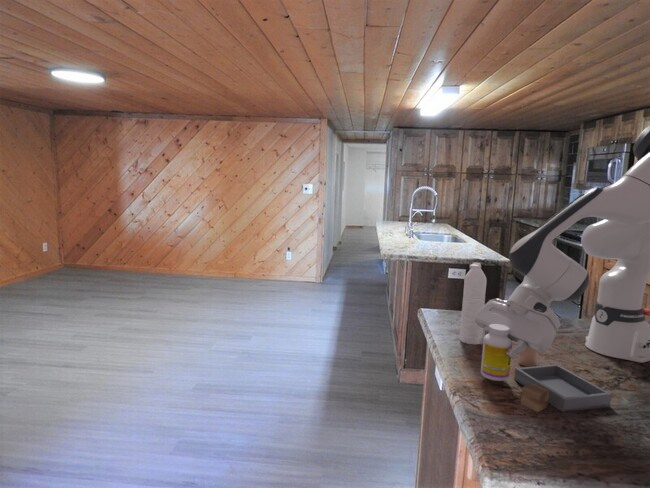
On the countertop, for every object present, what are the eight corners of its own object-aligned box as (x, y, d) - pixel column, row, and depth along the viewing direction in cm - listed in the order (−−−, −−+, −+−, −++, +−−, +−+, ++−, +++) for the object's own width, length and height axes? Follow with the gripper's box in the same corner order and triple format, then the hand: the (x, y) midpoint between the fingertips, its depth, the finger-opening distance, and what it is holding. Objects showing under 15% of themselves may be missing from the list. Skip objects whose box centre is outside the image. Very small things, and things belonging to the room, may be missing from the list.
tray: (555, 375, 113) (557, 364, 112) (609, 406, 98) (611, 393, 97) (514, 379, 110) (515, 368, 109) (563, 412, 94) (564, 399, 94)
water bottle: (461, 336, 140) (467, 260, 136) (483, 340, 137) (489, 262, 133) (456, 344, 132) (462, 264, 128) (478, 349, 129) (485, 267, 125)
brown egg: (528, 358, 123) (530, 338, 122) (541, 366, 118) (543, 345, 117) (513, 360, 122) (515, 339, 121) (525, 367, 117) (527, 346, 116)
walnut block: (530, 399, 100) (532, 383, 99) (547, 407, 97) (549, 390, 96) (520, 404, 98) (522, 387, 97) (537, 412, 94) (539, 395, 94)
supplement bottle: (511, 383, 105) (516, 333, 103) (482, 380, 106) (487, 330, 104) (505, 371, 111) (510, 323, 109) (478, 368, 112) (483, 321, 110)
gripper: (487, 289, 118) (458, 329, 115) (557, 311, 100) (525, 358, 97) (497, 303, 121) (469, 342, 118) (567, 326, 103) (536, 373, 100)
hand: (495, 350), depth 107 cm, fingers closed on supplement bottle, 7 cm apart
